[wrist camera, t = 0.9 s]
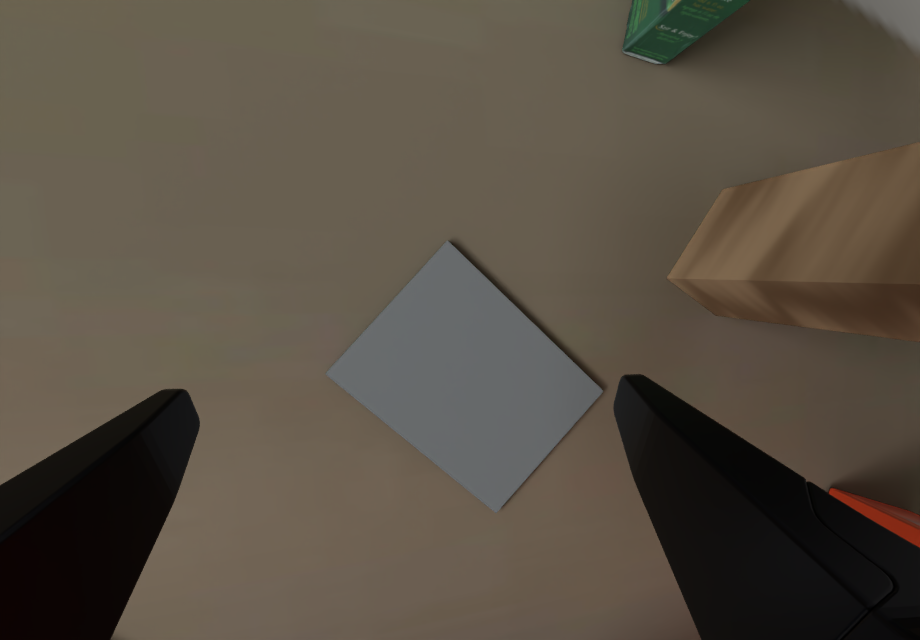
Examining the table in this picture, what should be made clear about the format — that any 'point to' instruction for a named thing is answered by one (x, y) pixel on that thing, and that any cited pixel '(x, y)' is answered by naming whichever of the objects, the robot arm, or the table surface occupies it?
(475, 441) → the mat
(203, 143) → the table surface
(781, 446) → the table surface
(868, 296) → the tall wooden block tower
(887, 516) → the file binder
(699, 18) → the coffee box
